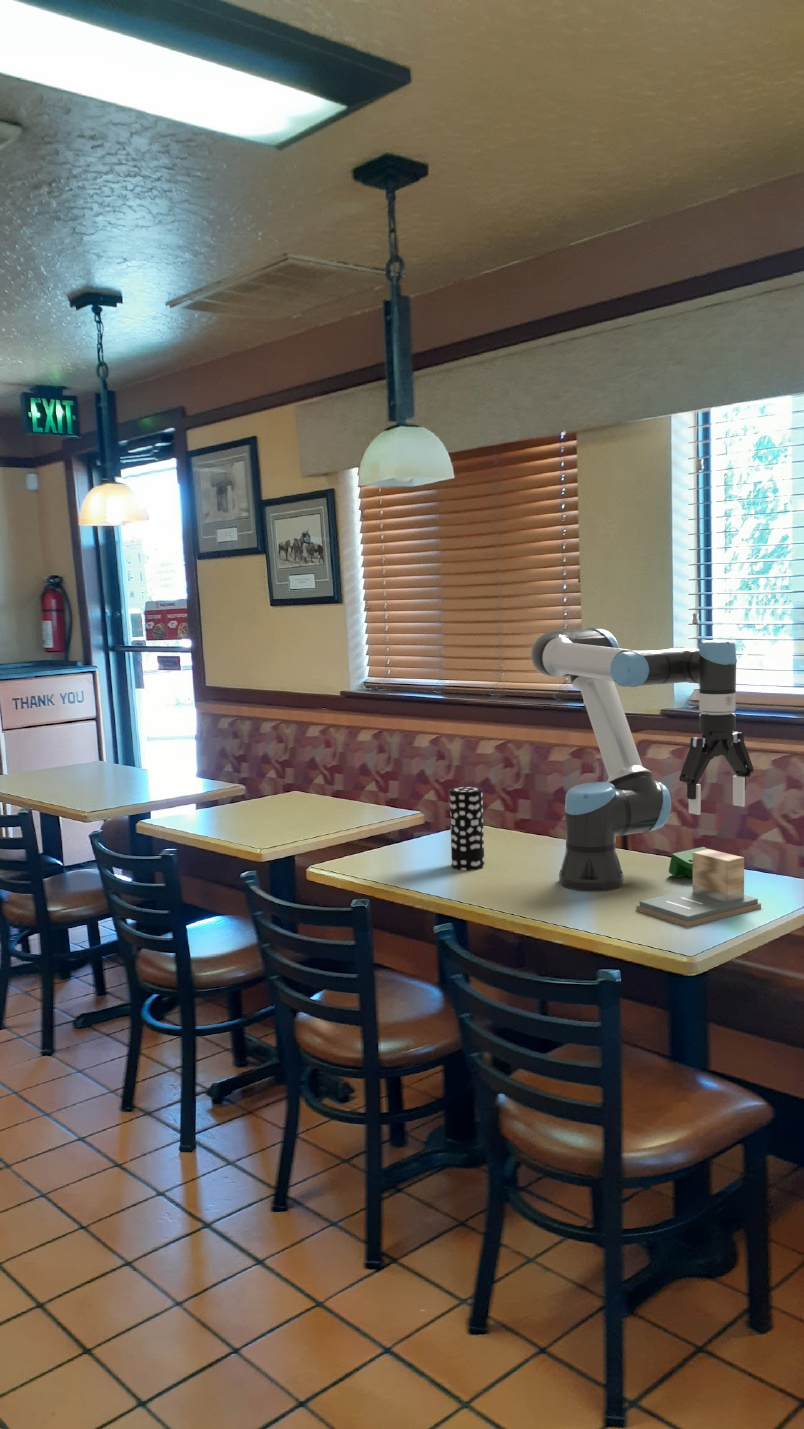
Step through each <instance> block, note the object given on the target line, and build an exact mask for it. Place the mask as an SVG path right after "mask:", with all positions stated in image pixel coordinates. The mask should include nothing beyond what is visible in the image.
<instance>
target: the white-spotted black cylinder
mask: <svg viewBox="0 0 804 1429" xmlns="http://www.w3.org/2000/svg"><path fill="white" fill-rule="evenodd" d="M483 792H484V790H483V788H482V787H479V786H456V787H451V788H450V789H449V810H450V811H449V812H450V841H451V842H450V846H451V847H450V849H451V868H452V869H454V870H457V871H465V872H466V871H467V872H468V871H477V870H482V869H483V868H485V842H484V841H485V838H484V834H485V833H484V804H483V803H484V798H483V797H484V796H483Z"/></svg>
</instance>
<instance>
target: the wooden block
mask: <svg viewBox="0 0 804 1429" xmlns="http://www.w3.org/2000/svg"><path fill="white" fill-rule="evenodd" d="M692 889H693V892H694V893H697V894H701V895H704V896H707V897H711V898H714V899H718V900H721V901H725V902H732V901H736V900H740V899H744V895H745V857H744V856H740V855H739V856H738V855H736V854H735V855H734V854H731V853H727V852H724V851H723V852H722V851H718V850H714V849H710V848H707V849H706V850H702V851H697V852H693V878H692Z"/></svg>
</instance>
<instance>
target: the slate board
mask: <svg viewBox="0 0 804 1429" xmlns="http://www.w3.org/2000/svg"><path fill="white" fill-rule="evenodd" d="M758 909H762V903H761V902H759V899H758V898H755V897H752V896H749V895H746V894H744V899H740V900H736V901H732V902H725V901H721V900H718V899H714V898H711V897H707V896H704V895H701V894H697V893H694V892H693V888H690V889H685V890H681V891H678V892H673V893H669V894H665V895H660V896H656V897H653V898H651V897H650V898H648V899H643V900H639V904H637V905H636V908H635V910H636V911H638V912H641V913H644V914H648V915H650V916H653V917H656V918H660V919H661V920H662V919H663V920H665V921H668V922H672V923H675V924H678V925H679V926H680V925H681V926H683V927H686V926H687V928H690V926H691V927H693V926H697V925H702V924H705V923H709V922H712V921H716V920H721V919H724V918H728V917H732V916H736V915H740V914H743V913H744V914H745V913H748V912H751V911H755V910H758Z"/></svg>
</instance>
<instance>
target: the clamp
mask: <svg viewBox="0 0 804 1429" xmlns="http://www.w3.org/2000/svg"><path fill="white" fill-rule="evenodd" d="M706 849H708V848H707V847H705V846H701V847H697V848H692V849H687V850H683V851H679V852H675V853H671V856H670V862H669V867H668V873H669V875H672V876H674V877H675V878H679V877H678V876H681V877H684V876H683V875H685V876H687V877H689V878H691V879H693V852H697V851H702V850H706Z"/></svg>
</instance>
